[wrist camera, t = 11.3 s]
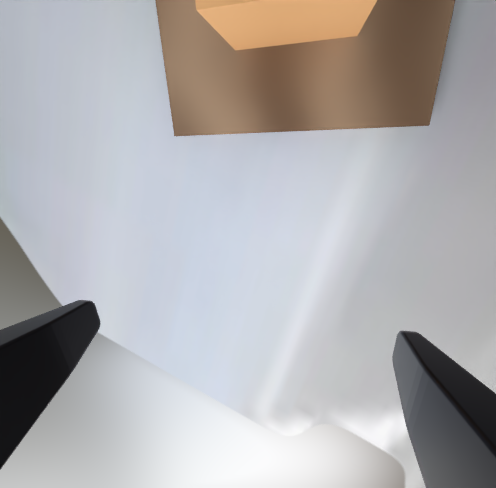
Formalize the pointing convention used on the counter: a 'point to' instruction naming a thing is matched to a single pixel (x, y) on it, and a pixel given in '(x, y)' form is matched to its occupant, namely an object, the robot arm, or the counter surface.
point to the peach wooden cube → (284, 20)
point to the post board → (305, 73)
